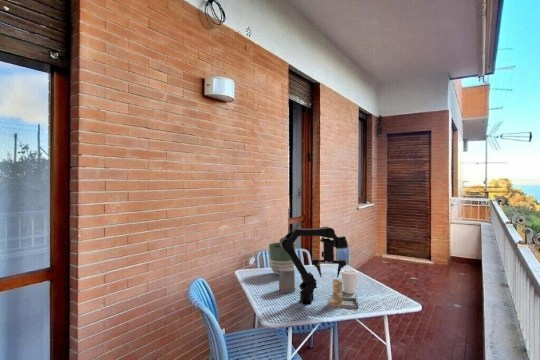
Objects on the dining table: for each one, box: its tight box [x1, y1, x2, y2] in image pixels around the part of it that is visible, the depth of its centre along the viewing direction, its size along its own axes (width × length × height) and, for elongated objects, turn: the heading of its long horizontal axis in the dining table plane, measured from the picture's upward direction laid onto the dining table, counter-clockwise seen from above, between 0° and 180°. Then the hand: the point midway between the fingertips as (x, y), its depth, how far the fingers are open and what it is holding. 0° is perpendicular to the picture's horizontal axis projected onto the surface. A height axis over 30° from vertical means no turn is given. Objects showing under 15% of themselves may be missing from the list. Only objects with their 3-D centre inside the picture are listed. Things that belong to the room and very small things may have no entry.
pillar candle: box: [278, 267, 296, 294], centre depth 197 cm, size 10×10×15 cm
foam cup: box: [341, 269, 359, 295], centre depth 191 cm, size 10×9×13 cm
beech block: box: [332, 278, 343, 305], centre depth 174 cm, size 5×5×12 cm
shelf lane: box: [326, 294, 359, 309], centre depth 173 cm, size 16×12×4 cm
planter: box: [268, 242, 297, 276], centre depth 232 cm, size 20×20×21 cm
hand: (329, 277), depth 180 cm, fingers open, 9 cm apart
